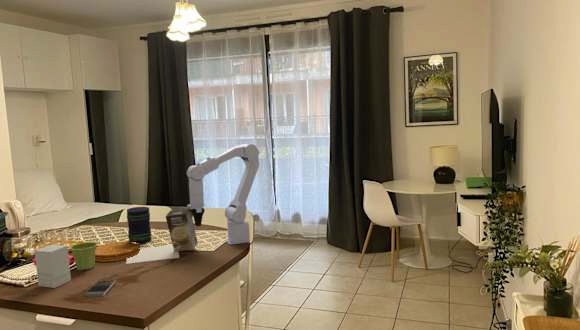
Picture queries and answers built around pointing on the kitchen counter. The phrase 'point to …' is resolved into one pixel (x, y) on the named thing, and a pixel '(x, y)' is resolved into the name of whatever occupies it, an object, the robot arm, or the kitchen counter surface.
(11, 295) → the kitchen counter surface
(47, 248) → the supplement box
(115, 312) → the kitchen counter surface
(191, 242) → the coffee box
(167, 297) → the kitchen counter surface
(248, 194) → the robot arm
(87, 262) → the plant pot
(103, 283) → the cell phone
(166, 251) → the mat
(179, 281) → the kitchen counter surface
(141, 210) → the storage jar
